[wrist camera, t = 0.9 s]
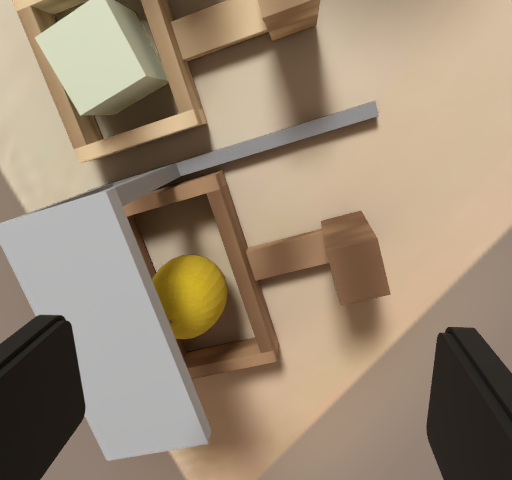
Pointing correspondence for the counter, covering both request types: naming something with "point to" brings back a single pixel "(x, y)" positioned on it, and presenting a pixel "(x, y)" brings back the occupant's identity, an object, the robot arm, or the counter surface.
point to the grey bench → (125, 300)
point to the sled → (166, 58)
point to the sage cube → (102, 57)
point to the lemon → (191, 294)
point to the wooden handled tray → (270, 267)
